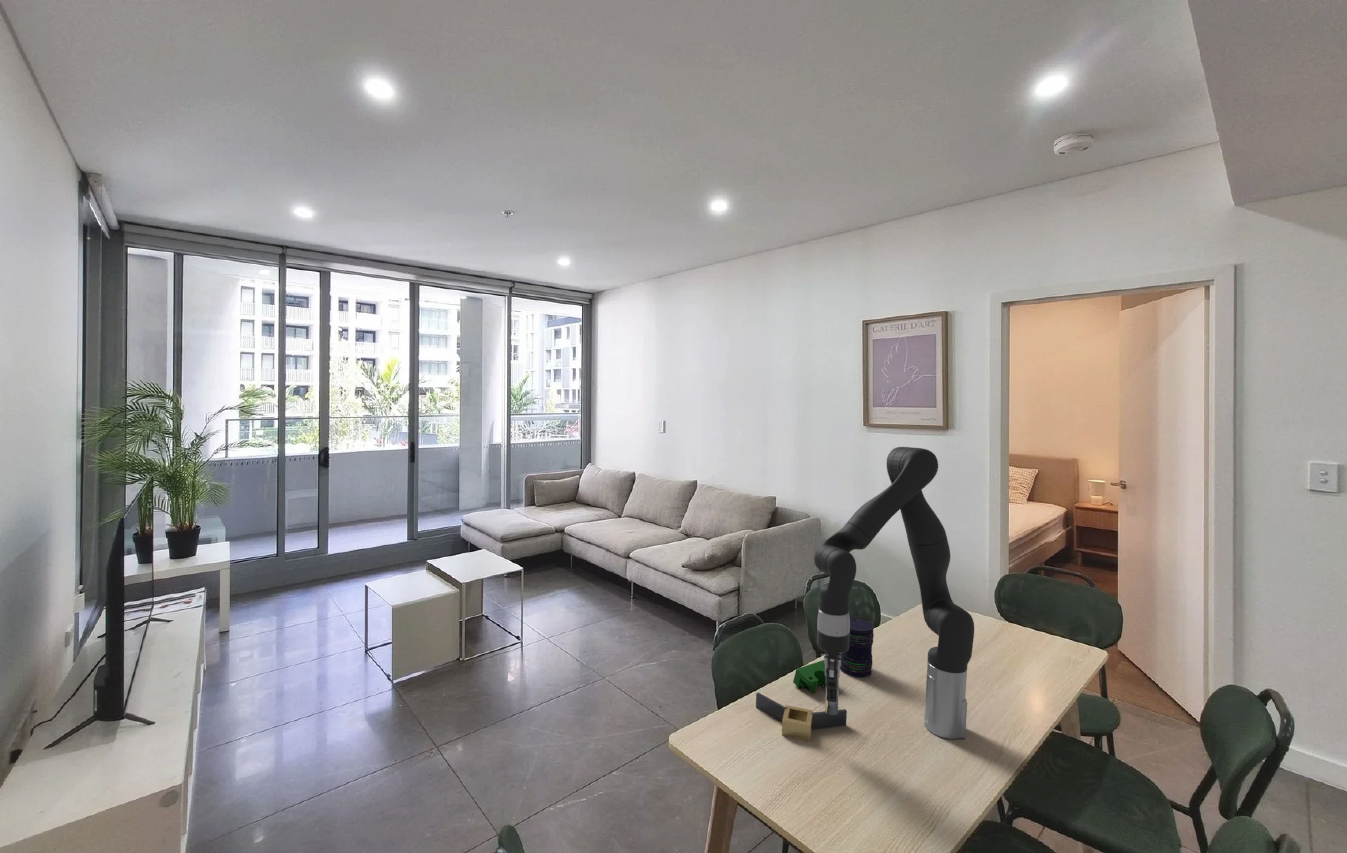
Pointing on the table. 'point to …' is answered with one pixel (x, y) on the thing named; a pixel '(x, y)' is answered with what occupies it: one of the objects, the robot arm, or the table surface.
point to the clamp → (810, 676)
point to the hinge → (799, 718)
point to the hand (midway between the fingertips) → (831, 696)
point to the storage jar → (858, 649)
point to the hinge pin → (832, 703)
